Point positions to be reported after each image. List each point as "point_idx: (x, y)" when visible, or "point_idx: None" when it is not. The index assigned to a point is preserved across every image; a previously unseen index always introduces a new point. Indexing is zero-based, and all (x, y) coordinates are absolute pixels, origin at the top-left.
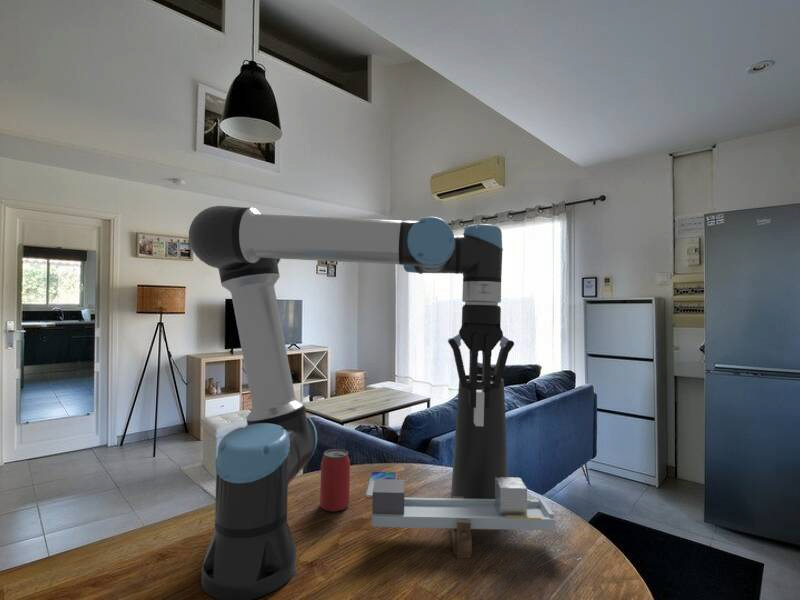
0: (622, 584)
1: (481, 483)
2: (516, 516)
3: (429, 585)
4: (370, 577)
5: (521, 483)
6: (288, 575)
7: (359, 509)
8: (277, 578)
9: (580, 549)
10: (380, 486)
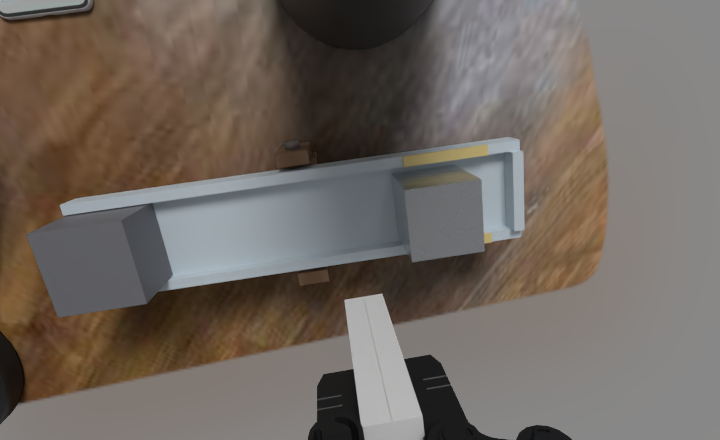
0: (574, 267)
1: (362, 35)
2: None
3: (262, 335)
4: (158, 338)
5: (476, 221)
6: (17, 383)
7: (22, 100)
8: (7, 411)
9: (547, 177)
10: (65, 280)
